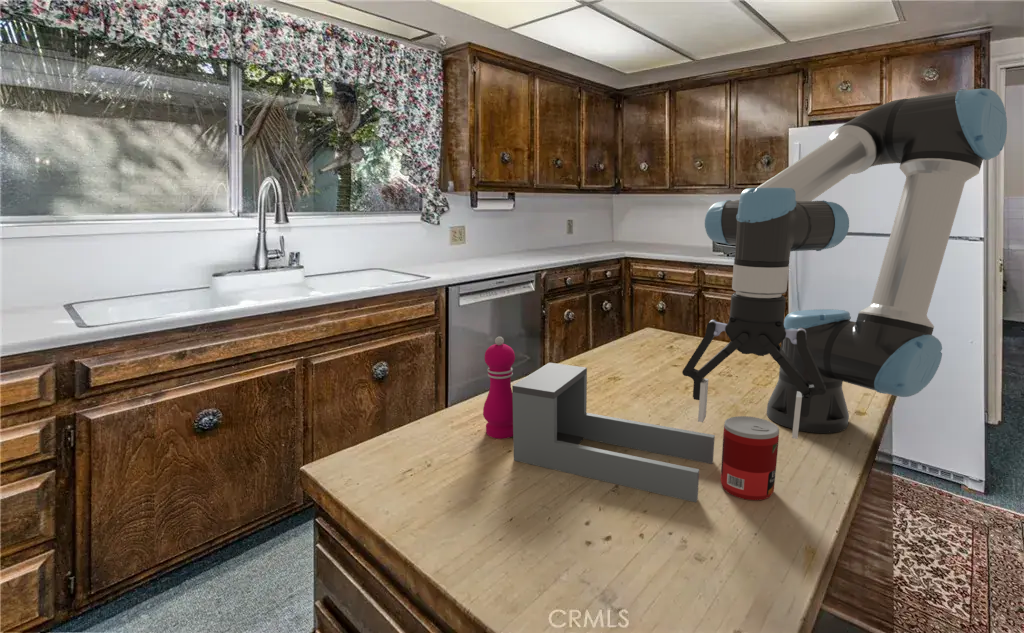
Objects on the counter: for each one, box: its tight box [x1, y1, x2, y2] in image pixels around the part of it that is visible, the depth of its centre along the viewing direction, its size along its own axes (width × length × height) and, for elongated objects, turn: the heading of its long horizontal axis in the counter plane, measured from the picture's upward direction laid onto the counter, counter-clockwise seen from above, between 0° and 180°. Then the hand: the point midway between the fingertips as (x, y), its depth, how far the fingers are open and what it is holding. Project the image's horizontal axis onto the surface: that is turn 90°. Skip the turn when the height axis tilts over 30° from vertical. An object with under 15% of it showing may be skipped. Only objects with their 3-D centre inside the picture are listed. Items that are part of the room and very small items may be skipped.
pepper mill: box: [482, 336, 516, 440], centre depth 112 cm, size 7×7×20 cm
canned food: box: [720, 415, 780, 501], centre depth 90 cm, size 8×8×11 cm
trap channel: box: [511, 362, 716, 503], centre depth 100 cm, size 32×15×14 cm, turn 62°
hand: (746, 427), depth 89 cm, fingers open, 13 cm apart
